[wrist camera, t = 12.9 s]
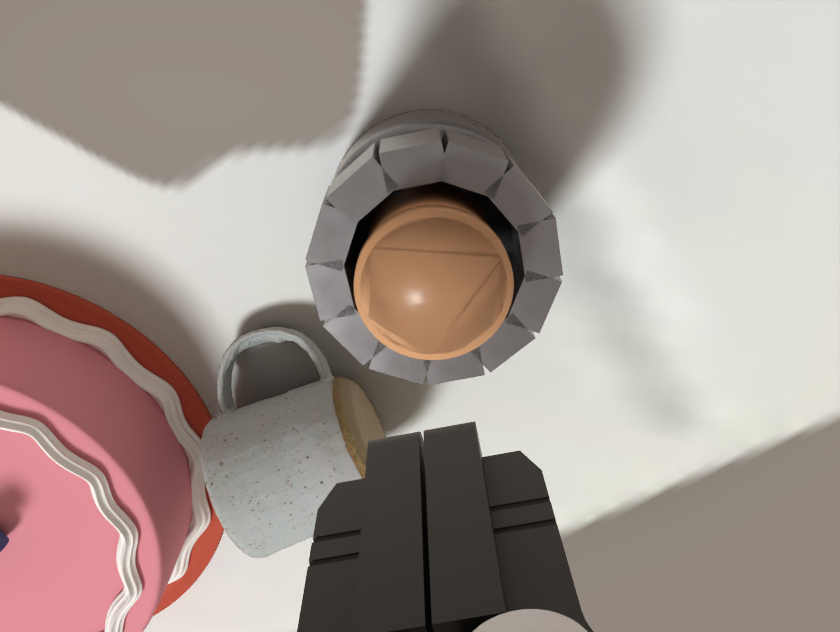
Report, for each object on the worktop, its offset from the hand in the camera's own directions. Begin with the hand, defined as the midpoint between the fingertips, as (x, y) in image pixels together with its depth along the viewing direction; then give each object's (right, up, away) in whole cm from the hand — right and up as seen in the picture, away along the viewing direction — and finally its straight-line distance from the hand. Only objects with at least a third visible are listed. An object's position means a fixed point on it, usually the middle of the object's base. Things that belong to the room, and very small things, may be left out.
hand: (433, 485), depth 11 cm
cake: (-24, -7, +34) cm, 42 cm away
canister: (0, +8, +28) cm, 29 cm away
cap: (0, +5, +23) cm, 23 cm away
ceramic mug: (-7, -3, +33) cm, 34 cm away
